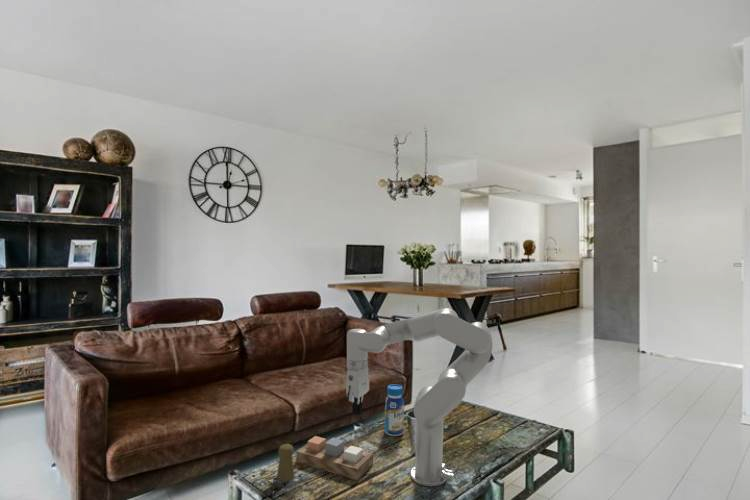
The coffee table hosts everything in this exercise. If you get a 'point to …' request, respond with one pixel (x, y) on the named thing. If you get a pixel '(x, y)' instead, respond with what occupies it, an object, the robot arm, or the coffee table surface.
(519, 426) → the coffee table surface
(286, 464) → the cork
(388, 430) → the beverage bottle
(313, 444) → the key terracotta
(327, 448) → the grey cube
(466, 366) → the robot arm
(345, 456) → the key ivory
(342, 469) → the wooden slotted tray
